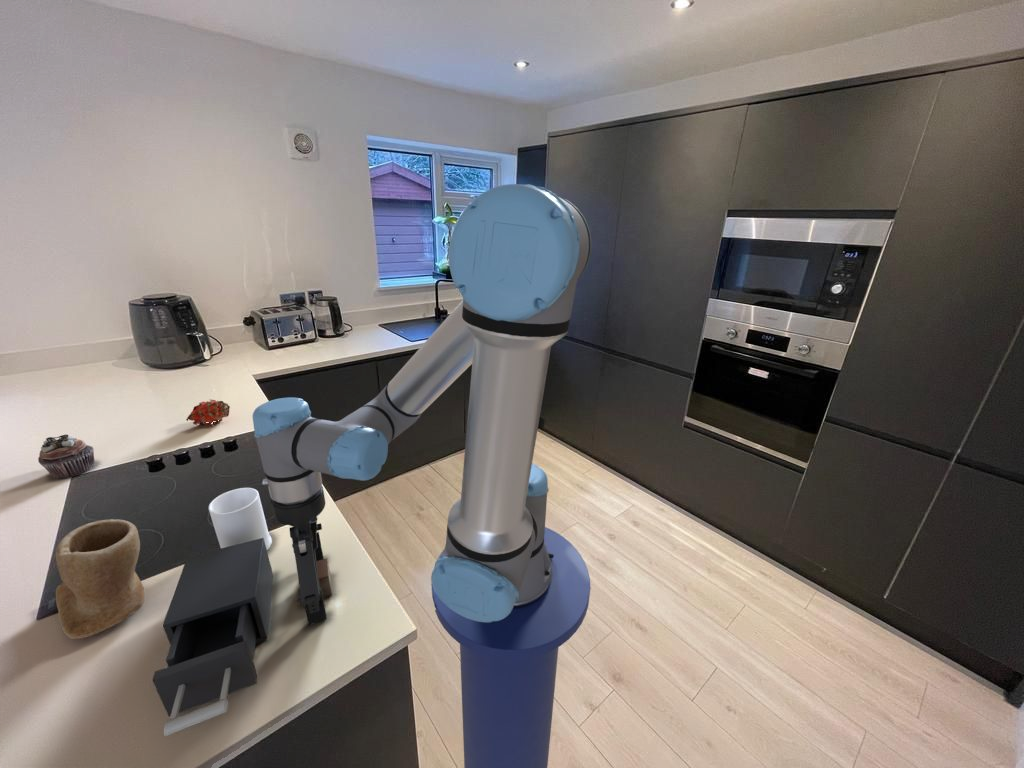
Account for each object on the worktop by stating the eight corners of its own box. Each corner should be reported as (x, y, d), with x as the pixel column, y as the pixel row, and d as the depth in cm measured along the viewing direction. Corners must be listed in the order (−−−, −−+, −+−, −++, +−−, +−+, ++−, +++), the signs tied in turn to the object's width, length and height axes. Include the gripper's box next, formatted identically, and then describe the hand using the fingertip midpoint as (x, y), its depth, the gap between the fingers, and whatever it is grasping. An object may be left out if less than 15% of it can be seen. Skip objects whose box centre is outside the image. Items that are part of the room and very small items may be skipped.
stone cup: (167, 604, 68) (139, 535, 63) (66, 656, 60) (25, 581, 54) (148, 559, 77) (123, 495, 72) (59, 598, 69) (22, 529, 64)
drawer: (252, 726, 51) (239, 689, 49) (154, 766, 47) (135, 729, 45) (264, 611, 67) (255, 578, 64) (191, 634, 62) (178, 600, 60)
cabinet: (267, 639, 63) (255, 596, 60) (180, 669, 58) (162, 625, 55) (273, 575, 74) (263, 537, 71) (201, 597, 70) (187, 557, 67)
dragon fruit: (237, 421, 135) (196, 438, 128) (226, 403, 137) (185, 418, 130) (233, 409, 129) (189, 425, 122) (221, 389, 131) (178, 404, 124)
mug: (245, 524, 87) (233, 477, 83) (286, 522, 88) (275, 476, 83) (212, 566, 76) (195, 515, 72) (259, 564, 77) (245, 514, 72)
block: (330, 576, 75) (327, 557, 73) (332, 595, 71) (328, 575, 69) (304, 584, 73) (300, 565, 71) (304, 604, 69) (299, 584, 67)
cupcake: (102, 469, 105) (88, 435, 101) (48, 485, 98) (31, 450, 94) (96, 456, 111) (83, 424, 107) (44, 471, 104) (28, 437, 100)
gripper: (275, 457, 73) (295, 547, 81) (263, 552, 52) (291, 661, 60) (320, 449, 76) (335, 536, 84) (325, 535, 55) (344, 641, 63)
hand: (316, 588), depth 72 cm, fingers open, 13 cm apart
